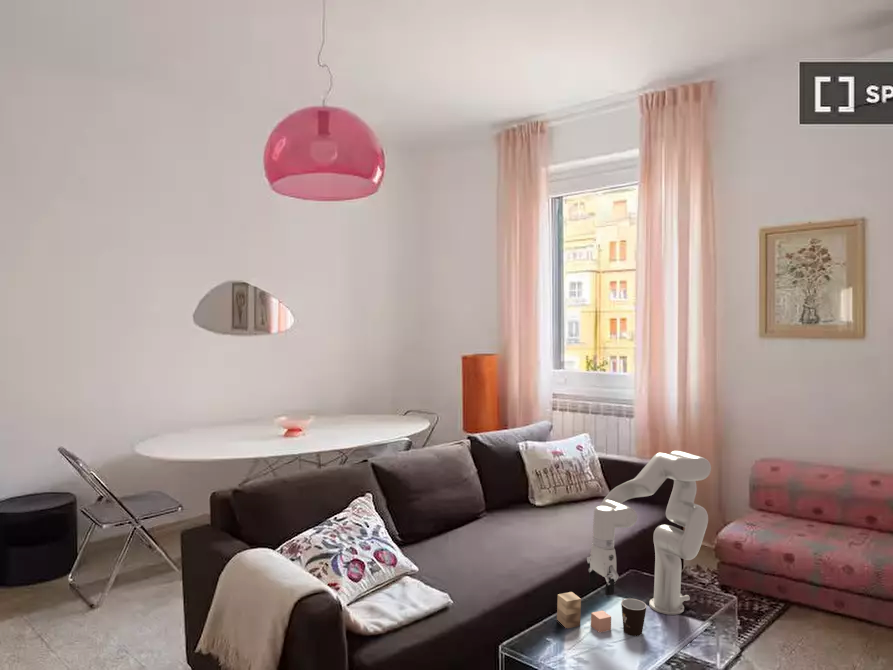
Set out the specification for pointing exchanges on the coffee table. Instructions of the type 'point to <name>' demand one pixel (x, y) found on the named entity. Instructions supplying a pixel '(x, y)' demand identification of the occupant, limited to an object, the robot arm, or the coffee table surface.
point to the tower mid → (569, 603)
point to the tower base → (568, 619)
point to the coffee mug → (633, 616)
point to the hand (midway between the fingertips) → (601, 588)
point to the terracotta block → (600, 621)
